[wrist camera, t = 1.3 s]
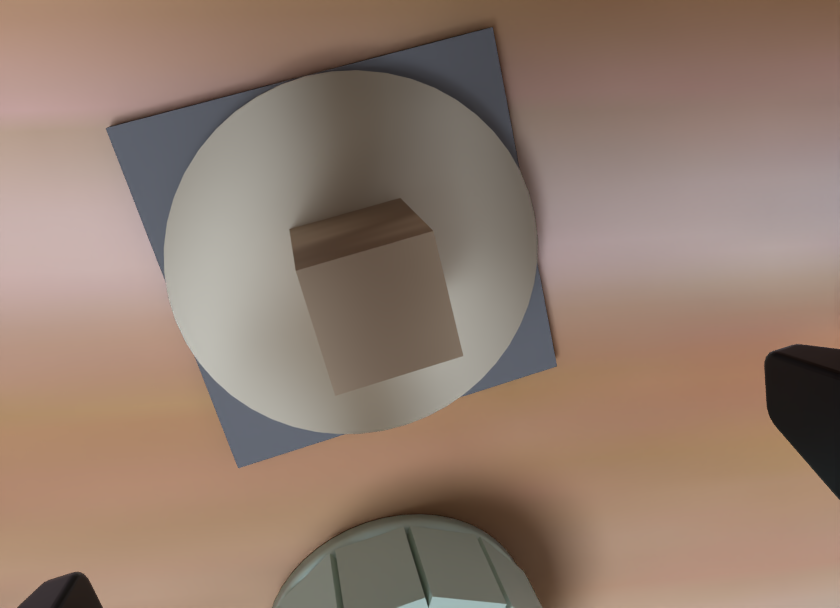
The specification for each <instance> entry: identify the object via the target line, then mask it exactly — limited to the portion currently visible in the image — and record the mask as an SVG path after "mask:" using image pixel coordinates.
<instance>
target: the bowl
mask: <svg viewBox="0 0 840 608" xmlns="http://www.w3.org/2000/svg"><path fill="white" fill-rule="evenodd" d="M272 608H542V606H541V604H540V602H539V600H538V598H537V596H536V594H535V592H534V590H533V588H532V586H531V584H530V582H529V580H528V578H527V576H526V575H525V573H524V571H522V570H521V569H520V568H519V567H518V566H516V564H515V562H514V560H513V559H512V557H511V556H510V555H509V553H508V552H507V551H506V549H505V548H504V547H503V546H502V545H501V544H500V543H498V542H497V541H496V540H495V539H494V538H493V537H491V536H490V535H488V534H487V533H485V532H484V531H483V530H481V529H479V528H477V527H475V526H473V525H471V524H468V523H465V522H462V521H459V520H456V519H453V518H448V517H443V516H438V515H425V514H413V515H399V516H393V517H386V518H382V519H378V520H375V521H371V522H367V523H364V524H362V525H359V526H357V527H354V528H352V529H349V530H347V531H345V532H344V533H342V534H340V535H338V536H336V537H334V538H332V539H331V540H329V541H328V542H326V543H325V544H323V545H322V546H320V547H319V548H317V549H316V550H315V551H314V552H313V553H312V554H310V555H309V556H308V557H307V558H306V559H305V560H303V561H302V563H301V564H300V565H299V566H298V567H297V568H296V569H295V570H294V571H293V572H292V574H291V575H290V576H289V578H288V579H287V581H286V582H285V583H284V585H283V586H282V588H281V590H280V591H279V593H278V595H277V597H276V599H275V601H274V603H273V606H272Z"/></svg>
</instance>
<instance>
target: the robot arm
mask: <svg viewBox="0 0 840 608" xmlns="http://www.w3.org/2000/svg"><path fill="white" fill-rule="evenodd" d="M764 369H765V385H766V402H767V410H768V413H769V416H770V418H771V420H772V422H773V423H774V425H775V426H776V427H777V429H778V430H779V431H780V432H781V433H782V434H783V435H784V437H785V438H786V439H787V440H788V441H789V442H790V443H791V445H792V446H793V447H794V448H795V449H796V450H797V452H798V453H799V454H800V455H801V456H802V457H803V458H804V460H805V461H806V462H807V463H808V464H809V465H810V467H811V468H812V469H813V470H814V471H815V472H816V473H817V475H818V476H819V477H820V478H821V479H822V480H823V481H824V483H825V484H826V485H827V486H828V487H829V488H830V490H831V491H832V492H833V493H834V494H835V495H836V496H837V497H838V499H839V500H840V349H834V348H826V347H818V346H810V345H802V344H796V345H791V346H788V347H784V348H781V349H778V350H775V351H772V352H770V353H769V354H768V355H767V356H766V359H765V363H764ZM17 608H103V607H102V605H101V603H100V601H99V599H98V597H97V595H96V593H95V591H94V589H93V587H92V585H91V583H90V581H89V579H88V578H87V577H86V576H85V575H84V574H83V573H81V572H73V573H70V574H66V575H63V576H60V577H57V578H54V579H51V580H48V581H46V582H44V583H43V584H42V585H41V586H39V587H38V588H37V589H36V590H35V591H34V592H33V593H32V594H31V595H30V596H29V597H28V598H27V599H26V600H25V601H24V602H23V603H21V604H20V605H19V606H18V607H17Z"/></svg>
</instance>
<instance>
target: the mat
mask: <svg viewBox="0 0 840 608" xmlns="http://www.w3.org/2000/svg"><path fill="white" fill-rule="evenodd" d="M351 70H360V71H371V72H382V73H389V74H393V75H397V76H401V77H406V78H410V79H413V80H416V81H418V82H421V83H423V84H426V85H429V86H431V87H434V88H436V89H438V90H440V91H441V92H443V93H445V94H447V95H449V96H451V97H452V98H454V99H456V100H458V101H459V102H460V103H462V104H463V105H464V106H466V107H467V108H468V109H470V110H471V111H472V112H474V113H475V114H476V115H477V116H478V117H479V118H480V119H481V120H482V121H483V122H484V123H485V124H487V125H488V126H489V127H490V128H491V129H492V130H493V131H494V133H495V134H496V135H497V136H498V138H499V139H500V140H501V142H502V143H503V144H504V146H505V147H506V148H507V150H508V151H509V152H510V154H511V156H512V158H513V159H514V161H515V163H516V165H517V167H518V168H519V164H518V158H517V153H516V148H515V143H514V137H513V132H512V127H511V121H510V116H509V111H508V106H507V100H506V95H505V90H504V85H503V79H502V74H501V69H500V64H499V58H498V53H497V48H496V42H495V37H494V32H493V27H492V28H486V29H482V30H479V31H475V32H471V33H467V34H463V35H460V36H456V37H452V38H448V39H444V40H440V41H437V42H433V43H429V44H425V45H421V46H417V47H414V48H410V49H406V50H402V51H398V52H394V53H391V54H387V55H383V56H379V57H375V58H371V59H368V60H364V61H360V62H356V63H352V64H348V65H345V66H341V67H337V68H333V69H329V70H325V71H322V72H318V73H314V74H310V75H315V74H320V73H325V72H331V71H351ZM306 76H309V75H306ZM302 77H305V76H302ZM302 77H299V78H302ZM299 78H295V79H291V80H287V81H283V82H279V83H276V84H272V85H268V86H264V87H260V88H257V89H253V90H249V91H245V92H241V93H237V94H234V95H230V96H226V97H222V98H218V99H214V100H211V101H207V102H203V103H199V104H195V105H191V106H188V107H184V108H180V109H176V110H172V111H168V112H165V113H161V114H157V115H153V116H149V117H145V118H142V119H138V120H134V121H130V122H126V123H122V124H119V125H115V126H111V127H108V128H106V130H107V133H108V135H109V138H110V140H111V143H112V146H113V148H114V151H115V153H116V156H117V158H118V161H119V164H120V166H121V169H122V171H123V174H124V176H125V179H126V181H127V184H128V187H129V189H130V192H131V194H132V197H133V199H134V202H135V205H136V207H137V210H138V212H139V215H140V217H141V220H142V223H143V225H144V228H145V230H146V233H147V235H148V238H149V240H150V243H151V246H152V248H153V251H154V253H155V256H156V258H157V261H158V264H159V266H160V269H161V271H162V274H163V276H164V279H165V274H164V242H165V234H166V226H167V220H168V217H169V213H170V209H171V206H172V202H173V198H174V196H175V194H176V191H177V189H178V187H179V184H180V182H181V180H182V177H183V175H184V173H185V171H186V170H187V168H188V166H189V165H190V163H191V162H192V160H193V158H194V157H195V155H196V153H197V152H198V150H199V149H200V148H201V146H202V145H203V144H204V143H205V142H206V140H207V139H208V138H209V137H210V136H211V134H212V133H213V132H214V131H215V130H216V128H217V127H219V126H220V125H221V124H222V123H223V122H224V121H225V120H226V119H227V118H228V117H230V116H231V115H232V114H233V113H234V112H235V111H236V110H238V109H239V108H241V107H242V106H244V105H245V104H247V103H248V102H249V101H251V100H252V99H254V98H255V97H257V96H259V95H261V94H263V93H265V92H267V91H269V90H271V89H273V88H275V87H277V86H279V85H281V84H284V83H287V82H290V81H293V80H296V79H299ZM519 170H520V169H519ZM165 282H166V280H165ZM195 359H196V357H195ZM196 361H197V364H198V366H199V369H200V371H201V374H202V376H203V379H204V382H205V384H206V387H207V389H208V392H209V394H210V397H211V400H212V402H213V405H214V407H215V410H216V412H217V415H218V418H219V420H220V423H221V425H222V428H223V430H224V433H225V435H226V438H227V441H228V443H229V446H230V448H231V451H232V453H233V456H234V459H235V461H236V464H237V466H238V468H240V467H243V466H247V465H250V464H253V463H256V462H259V461H262V460H265V459H268V458H272V457H275V456H278V455H281V454H284V453H287V452H290V451H293V450H297V449H300V448H303V447H306V446H309V445H312V444H315V443H318V442H322V441H325V440H328V439H331V438H334V437H337V436H340V435H344V434H332V433H322V432H314V431H310V430H305V429H301V428H296V427H292V426H290V425H287V424H284V423H281V422H278V421H275V420H273V419H270V418H268V417H266V416H264V415H262V414H260V413H259V412H257V411H255V410H253V409H251V408H249V407H248V406H246V405H245V404H243V403H242V402H240V401H239V400H237V399H236V398H234V397H233V396H232V395H230V394H229V393H228V392H227V391H226V390H225V389H224V388H223V387H221V386H220V385H219V384H218V383H217V382H216V381H215V380H214V379H213V378H212V377H211V376H210V375H209V374H208V372H207V371H206V370H205V369H204V368H203V367H202V365H201V364H200V363H199V362H198V360H197V359H196ZM556 366H557V364H556V359H555V353H554V348H553V343H552V338H551V332H550V327H549V322H548V316H547V311H546V306H545V301H544V295H543V290H542V285H541V280H540V274H539V269H538V264H537V267H536V274H535V281H534V286H533V290H532V293H531V297H530V301H529V305H528V307H527V310H526V312H525V315H524V317H523V319H522V322H521V324H520V327H519V328H518V330H517V332H516V334H515V336H514V337H513V339H512V341H511V343H510V345H509V346H508V347H507V349H506V350H505V352H504V353H503V354H502V356H501V357H500V359H499V360H498V361H497V363H496V364H495V365H494V366H493V367H492V368H491V369H490V370H489V372H488V373H487V374H486V375H485V376H484V377H483V378H482V379H481V380H480V381H479V382H478V383H477V384H475V385H474V386H473V387H472V388H471V389H470V390H468V391H467V392H466V393H465V394H464V395H462V396H465V395H469V394H472V393H475V392H478V391H481V390H484V389H487V388H490V387H494V386H497V385H500V384H503V383H506V382H509V381H512V380H515V379H519V378H522V377H525V376H528V375H531V374H534V373H537V372H540V371H544V370H547V369H550V368H553V367H556ZM462 396H461V397H462Z"/></svg>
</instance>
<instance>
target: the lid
mask: <svg viewBox="0 0 840 608" xmlns="http://www.w3.org/2000/svg"><path fill="white" fill-rule="evenodd" d="M537 244H538V238H537V229H536V221H535V214H534V210H533V206H532V202H531V199H530V195H529V192H528V189H527V187H526V184H525V182H524V179H523V177H522V174H521V172H520V170H519V168H518V167H517V165H516V163H515V161H514V159H513V158H512V156H511V154H510V152H509V151H508V150H507V148H506V147H505V146H504V144H503V143H502V142H501V140H500V139H499V138H498V136H497V135H496V134H495V133H494V131H493V130H492V129H491V128H490V127H489V126H488V125H487V124H485V123H484V122H483V121H482V120H481V119H480V118H479V117H478V116H477V115H476V114H475V113H474V112H472V111H471V110H470V109H468V108H467V107H466V106H464V105H463V104H462V103H460V102H459V101H458V100H456V99H454V98H452V97H451V96H449V95H447V94H445V93H443V92H441V91H440V90H438V89H436V88H434V87H431V86H429V85H426V84H423V83H421V82H418V81H416V80H413V79H410V78H406V77H401V76H397V75H393V74H389V73H382V72H371V71H360V70H351V71H331V72H325V73H320V74H315V75H309V76H305V77H302V78H299V79H296V80H293V81H290V82H287V83H284V84H281V85H279V86H277V87H275V88H273V89H271V90H269V91H267V92H265V93H263V94H261V95H259V96H257V97H255V98H254V99H252V100H251V101H249V102H248V103H247V104H245V105H244V106H242V107H241V108H239V109H238V110H236V111H235V112H234V113H233V114H232V115H231V116H230V117H228V118H227V119H226V120H225V121H224V122H223V123H222V124H221V125H220V126H219V127H217V128H216V130H215V131H214V132H213V133H212V134H211V136H210V137H209V138H208V139H207V140H206V142H205V143H204V144H203V145H202V146H201V148H200V149H199V150H198V152H197V153H196V155H195V157H194V158H193V160H192V162H191V163H190V165H189V166H188V168H187V170H186V171H185V173H184V175H183V177H182V180H181V182H180V184H179V187H178V189H177V191H176V194H175V196H174V198H173V202H172V206H171V209H170V213H169V217H168V220H167V226H166V234H165V242H164V274H165V280H166V286H167V293H168V298H169V301H170V305H171V308H172V311H173V314H174V317H175V321H176V323H177V325H178V327H179V329H180V331H181V333H182V335H183V337H184V340H185V342H186V343H187V345H188V347H189V348H190V350H191V351H192V353H193V354H194V356H195V357H196V359H197V360H198V362H199V363H200V364H201V365H202V367H203V368H204V369H205V370H206V371H207V372H208V374H209V375H210V376H211V377H212V378H213V379H214V380H215V381H216V382H217V383H218V384H219V385H220V386H221V387H223V388H224V389H225V390H226V391H227V392H228V393H229V394H230V395H232V396H233V397H234V398H236V399H237V400H239V401H240V402H242V403H243V404H245V405H246V406H248V407H249V408H251V409H253V410H255V411H257V412H259V413H260V414H262V415H264V416H266V417H268V418H270V419H273V420H275V421H278V422H281V423H284V424H287V425H290V426H292V427H296V428H301V429H305V430H310V431H314V432H322V433H332V434H362V433H370V432H377V431H384V430H388V429H392V428H395V427H399V426H403V425H406V424H409V423H412V422H414V421H417V420H419V419H422V418H425V417H427V416H429V415H431V414H433V413H435V412H436V411H438V410H440V409H442V408H444V407H446V406H447V405H449V404H450V403H452V402H453V401H455V400H456V399H458V398H459V397H461V396H462V395H464V394H465V393H466V392H467V391H468V390H470V389H471V388H472V387H473V386H474V385H475V384H477V383H478V382H479V381H480V380H481V379H482V378H483V377H484V376H485V375H486V374H487V373H488V372H489V370H490V369H491V368H492V367H493V366H494V365H495V364H496V363H497V361H498V360H499V359H500V357H501V356H502V354H503V353H504V352H505V350H506V349H507V347H508V346H509V345H510V343H511V341H512V339H513V337H514V336H515V334H516V332H517V330H518V328H519V327H520V324H521V322H522V319H523V317H524V315H525V312H526V310H527V307H528V305H529V301H530V297H531V293H532V290H533V286H534V281H535V274H536V267H537Z"/></svg>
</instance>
